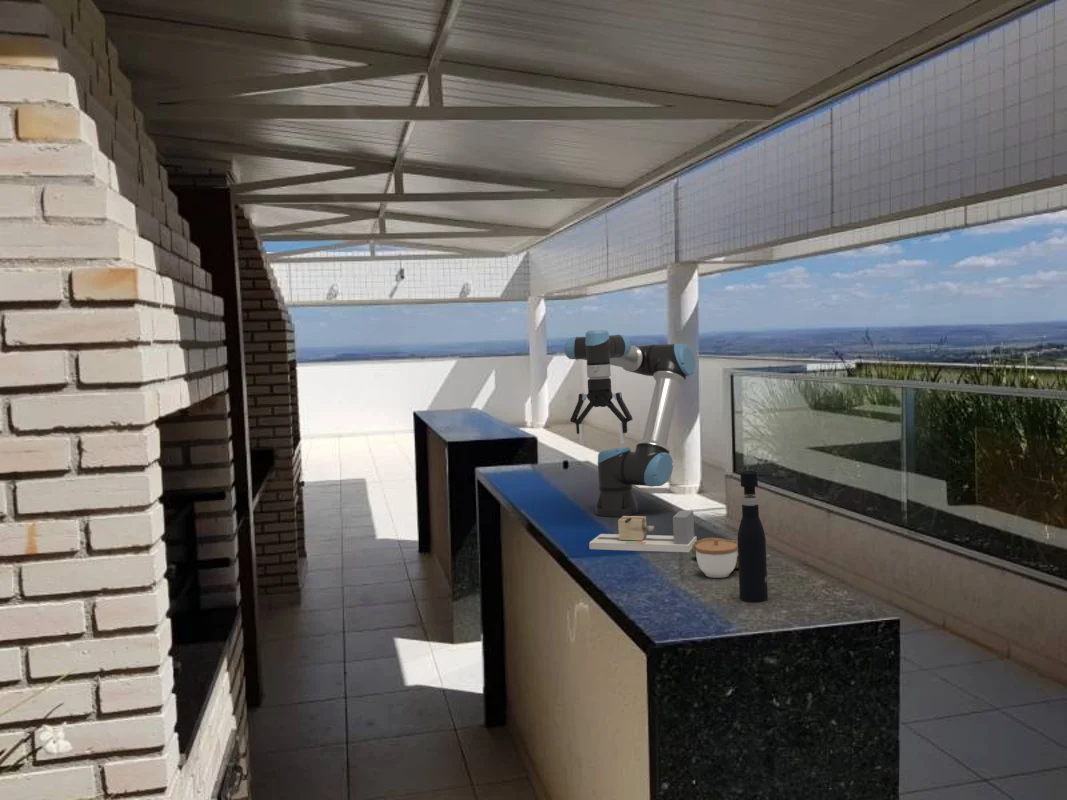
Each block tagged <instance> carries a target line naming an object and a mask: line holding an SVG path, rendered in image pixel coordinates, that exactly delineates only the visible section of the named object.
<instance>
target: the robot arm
mask: <svg viewBox="0 0 1067 800" xmlns="http://www.w3.org/2000/svg"><path fill="white" fill-rule="evenodd" d="M630 341H631V340H630V339H629V338H628V337H627V336H626V335H623V334H612V335H611V334H609V331H608V329H598V330H597V329H596V330H595V329H594V330H587V331H586V332H585V336H575V337H569V338H567V340H565V343H564V348H563V349H564V354H565V356H566V358H568V359H569V360H575V361H577V360H585V361H586V375H587V378H589V379H587V394H586V393H583V392H582V393H579V394H578V399H577V400H578V401H577V403H576V404H575V407H574V410H573V412H572V416H571V417H570V420H569V421H570V422H571V423H574V424H575V429H576V434H577V435H579V445H584V444H585V442H586V441H585V428H584V427H585V425H584V423H582V422H583V421H584V420H585V418H586V417H587V415H588V414H589V413H590V411H592V409H593V408H598V407H599V408H605V407H607V408H608V409H610V411H611V412H612V413H613V414H614V415H615V417H616V418H617V419H618V420H619V421H620V423H619V439H620V440H619V441H620V445H623V444H625V443H626V438H625V437H626V436H625V435H626V434H627V433H628V422H631V421H633V416H632V415H631V412H630V411H629V409H628V407H627V405H626V404H625V401H624V400H623V395H622V392H621V391H618V392H616V393H613V392H612V379H611V378H610V377H611V375H612V373H611V366H615V367H619V368H622V369H623V370H625V371H626V372H630V373H633V374H639V375H642V376H646V377H652V378H653V379H654V380H655V385H654V389H653V393H652V397H651V401H650V405H649V410H648V415H647V419H646V423H645V427H644V431H643V435H642V438H641V439H642V440H641V441H639V442H638V443H637V444H636V446H635V450H634V451H632V450H631V448H630V447H629V446H624V447H616V448H610V449H605V450H601V451H599V453H598V455H597V470H598V473H597V474H598V487H599V488H598V489H599V492H598V496H597V500H596V502H595V503H596V504H595V508H594V509H595V511H594V512H595V515H597V516H600V517H610V518H611V517H614V518H615V517H623V516H634V515H635V514H638V512H639V508H638V507H639V506H638V503H637V501H636V498H635V495H634V492H633V486H643V487H663V485H665V484H667V482H669V479H671V476H672V474H673V473H672V472H673V468H674V465H673V458H672V456H671V455H670V451H669V449H668V447H667V444H668V440H669V435H670V430H671V427H672V426H671V425H672V421H673V418H674V414H675V413H674V412H675V409H676V404H677V400H678V395H679V390H680V387H682V386H683V385H684V384H685V382H686V378H687V377H690V376H692V375H693V374H694V372H695V370H696V369H695V368H696V360H695V359H696V358H695V355H694V352H693V350H692V348H691V347H690V346H689V345H688V344H687V343H678V342H676V343H666V344H665V343H664V344H662V343H661V344H647V345H646V344H645V345H631V342H630ZM612 399H614V400H616V402H617V404H618V406H619V407H620V409H621V411H622V412H621V411H620V410H619V409H618V408H617V406H616V405H615V404H614V403H613V401H612ZM587 400H588V401H589V403H588V404H587V405H586V406H585V408H584V410H582V413H580V412H581V409H582V407H583V404H584V402H585V401H587ZM579 414H580V415H579Z"/></svg>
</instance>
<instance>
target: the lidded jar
mask: <svg viewBox="0 0 1067 800" xmlns="http://www.w3.org/2000/svg"><path fill="white" fill-rule="evenodd" d="M695 549H696V556H695V557H696V562H697V566H698V568H700V569H699V570H700V571H702V573H703V574H705V576H706V577H708V578H714V579H717V578H718V579H720V578H722V579H723V578H726V577H730V574H731V573H732V572H733V571H734V569H736V568H735V565H736V562H737V545H736V544H735V543H732V542H726V541H718V539H714V541H708V542H702V543H699V544H697V545H696V546H695Z"/></svg>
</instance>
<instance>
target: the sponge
mask: <svg viewBox="0 0 1067 800" xmlns="http://www.w3.org/2000/svg"><path fill="white" fill-rule="evenodd" d="M714 539H718V541H726V542H732V543H735V544H736V545H737V562H736V565H735V568H734V569H738V570H739V565H738V540H733V539H726V538H721V537H703V538H701V539H697V541H696V542H694V544H693V546H692V549H691V552H692V554H693V555H694V556H695V557H696V549H695V546H696V545H697V544H699V543H702V542H708V541H714Z"/></svg>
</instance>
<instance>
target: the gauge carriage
mask: <svg viewBox="0 0 1067 800" xmlns="http://www.w3.org/2000/svg"><path fill="white" fill-rule="evenodd" d="M617 524H618V534H619V540H643V539H644V538H645V537H646V536H647V535H648V533H647V532H654V531H655V526H654V525H647V516H645V515H644V516H642V515H641V516H639V515H638V516H637V515H628V516H620V518H619V519H618V520H617Z"/></svg>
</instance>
